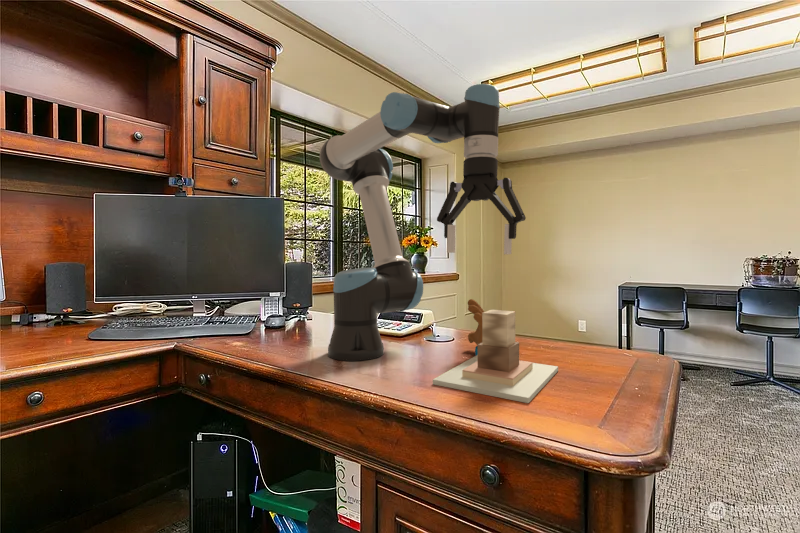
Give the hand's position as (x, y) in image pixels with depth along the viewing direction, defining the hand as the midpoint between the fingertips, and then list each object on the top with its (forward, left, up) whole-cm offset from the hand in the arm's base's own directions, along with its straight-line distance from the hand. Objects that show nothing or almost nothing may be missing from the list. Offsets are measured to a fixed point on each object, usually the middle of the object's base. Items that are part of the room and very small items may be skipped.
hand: (478, 253), depth 92 cm
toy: (-6, +16, -28) cm, 33 cm away
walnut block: (+5, -1, -25) cm, 25 cm away
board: (+5, -1, -27) cm, 28 cm away
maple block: (+5, -1, -20) cm, 21 cm away
